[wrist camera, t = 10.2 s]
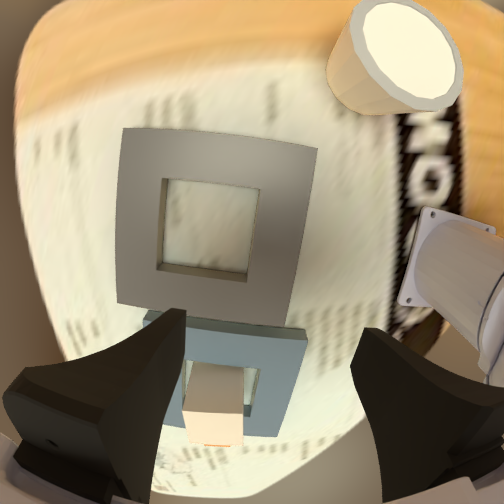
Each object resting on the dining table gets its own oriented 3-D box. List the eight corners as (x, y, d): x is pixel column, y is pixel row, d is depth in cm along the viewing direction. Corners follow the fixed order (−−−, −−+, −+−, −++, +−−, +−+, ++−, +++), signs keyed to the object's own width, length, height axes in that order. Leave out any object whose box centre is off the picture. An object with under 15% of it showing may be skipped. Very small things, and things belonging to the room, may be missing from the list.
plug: (243, 359, 22) (242, 413, 17) (243, 399, 24) (243, 451, 18) (194, 358, 22) (181, 410, 17) (199, 397, 24) (191, 448, 18)
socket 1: (312, 149, 18) (317, 148, 16) (281, 316, 21) (284, 326, 20) (131, 129, 17) (123, 127, 16) (124, 294, 21) (117, 302, 19)
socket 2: (304, 329, 22) (308, 340, 20) (275, 425, 25) (276, 437, 24) (148, 310, 21) (142, 319, 20) (155, 411, 24) (152, 422, 23)
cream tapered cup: (405, 51, 15) (458, 21, 9) (404, 133, 17) (466, 128, 11) (318, 27, 15) (348, -24, 8) (313, 114, 17) (349, 90, 10)
